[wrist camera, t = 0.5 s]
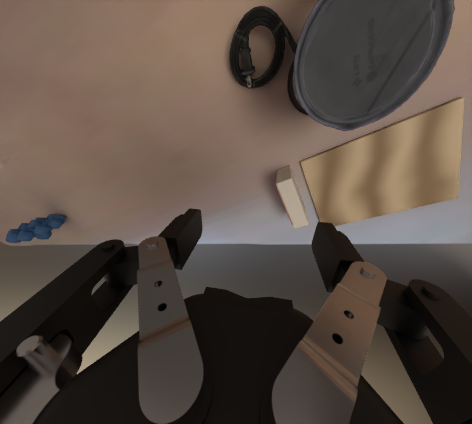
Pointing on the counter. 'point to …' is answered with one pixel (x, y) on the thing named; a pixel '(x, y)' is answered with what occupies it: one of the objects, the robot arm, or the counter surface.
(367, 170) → the mat
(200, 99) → the counter surface
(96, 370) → the robot arm
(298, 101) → the milk frother
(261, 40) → the counter surface
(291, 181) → the card box
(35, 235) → the grapes
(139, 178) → the counter surface
